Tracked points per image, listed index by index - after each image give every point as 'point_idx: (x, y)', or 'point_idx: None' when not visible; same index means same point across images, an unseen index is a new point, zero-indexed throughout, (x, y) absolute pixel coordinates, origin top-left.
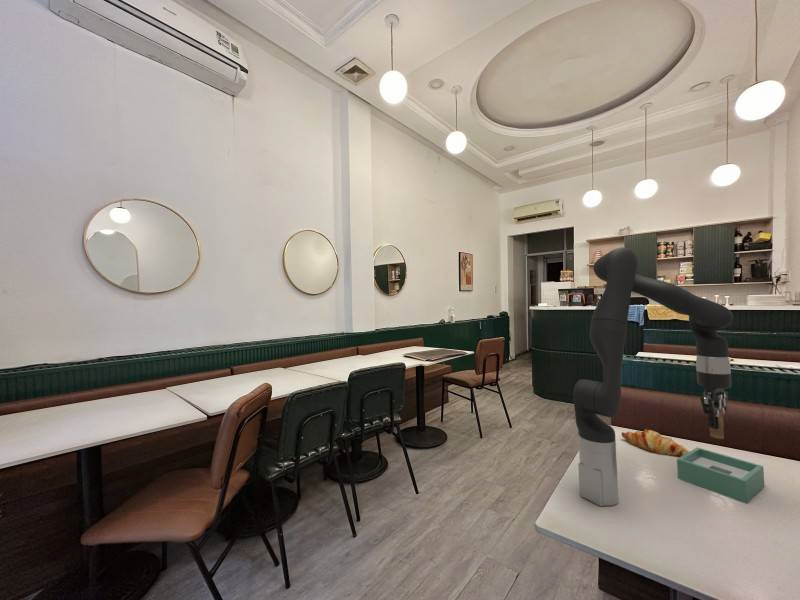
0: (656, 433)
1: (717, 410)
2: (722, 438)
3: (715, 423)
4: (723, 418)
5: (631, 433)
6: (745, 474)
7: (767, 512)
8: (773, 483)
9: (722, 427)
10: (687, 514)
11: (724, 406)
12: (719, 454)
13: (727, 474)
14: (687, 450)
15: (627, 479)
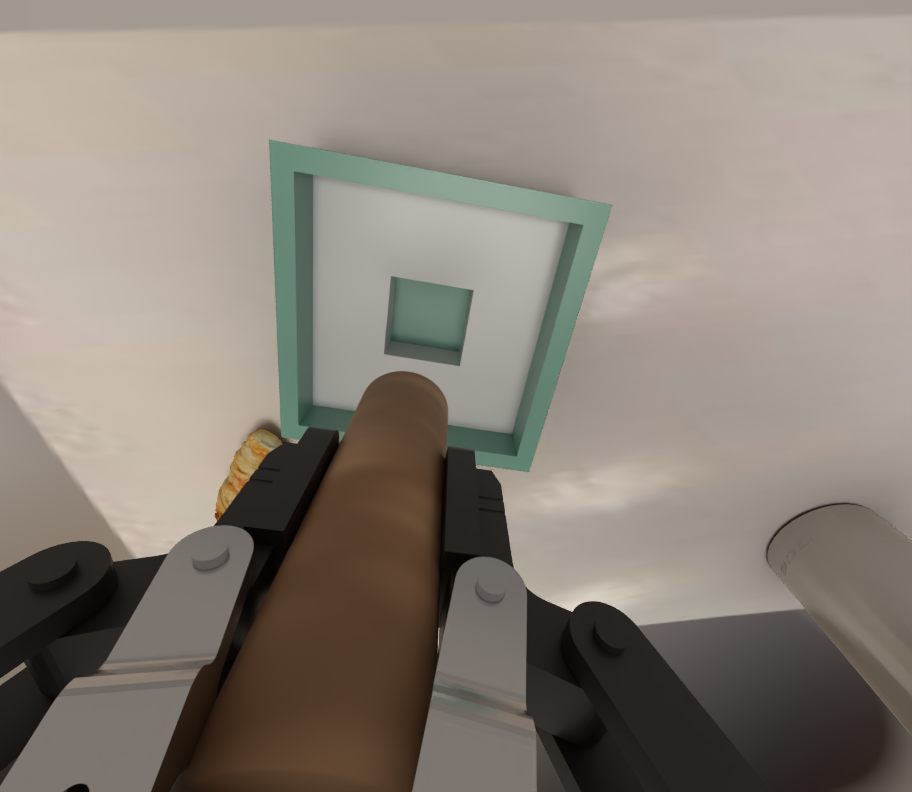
0: None
1: (511, 681)
2: (423, 378)
3: (501, 505)
4: (272, 480)
5: None
6: (374, 224)
7: (609, 125)
8: (231, 120)
9: (404, 428)
10: (808, 352)
11: (183, 684)
12: (292, 348)
13: (572, 286)
14: (249, 449)
15: (646, 521)
